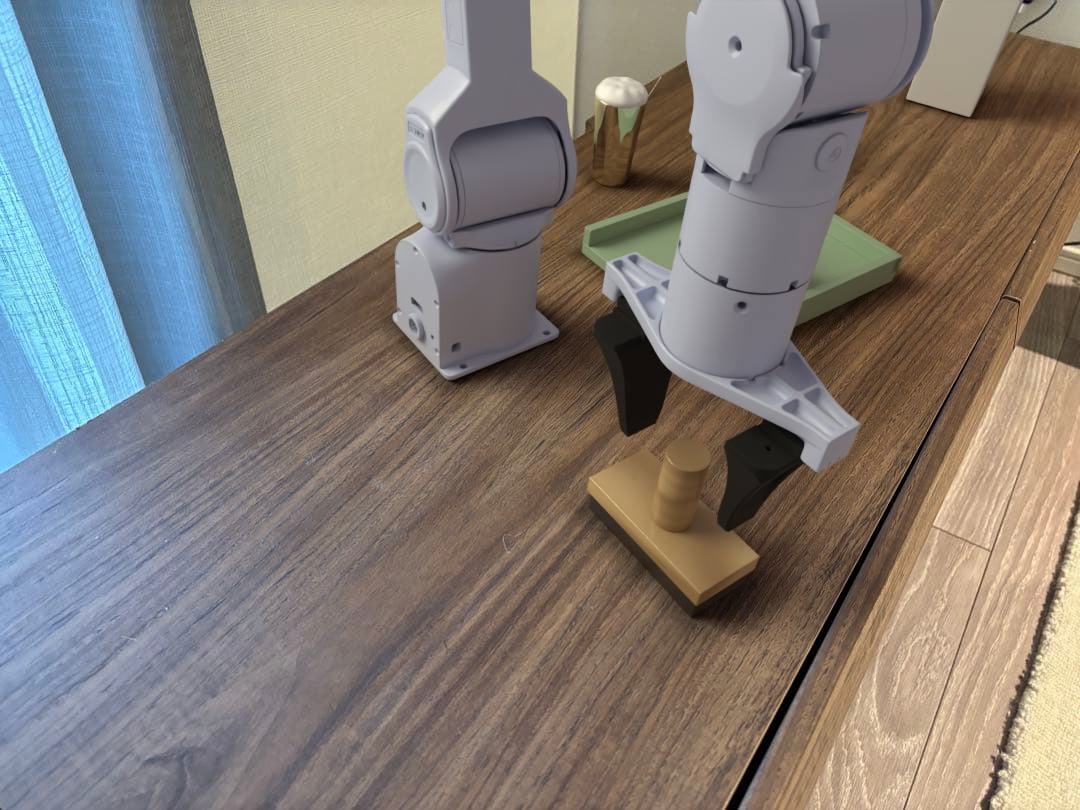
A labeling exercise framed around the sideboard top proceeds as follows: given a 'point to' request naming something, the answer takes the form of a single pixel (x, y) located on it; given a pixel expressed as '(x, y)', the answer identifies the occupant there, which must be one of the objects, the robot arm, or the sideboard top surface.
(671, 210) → the tray
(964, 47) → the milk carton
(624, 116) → the milkshake
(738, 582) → the brush
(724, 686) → the sideboard top surface
